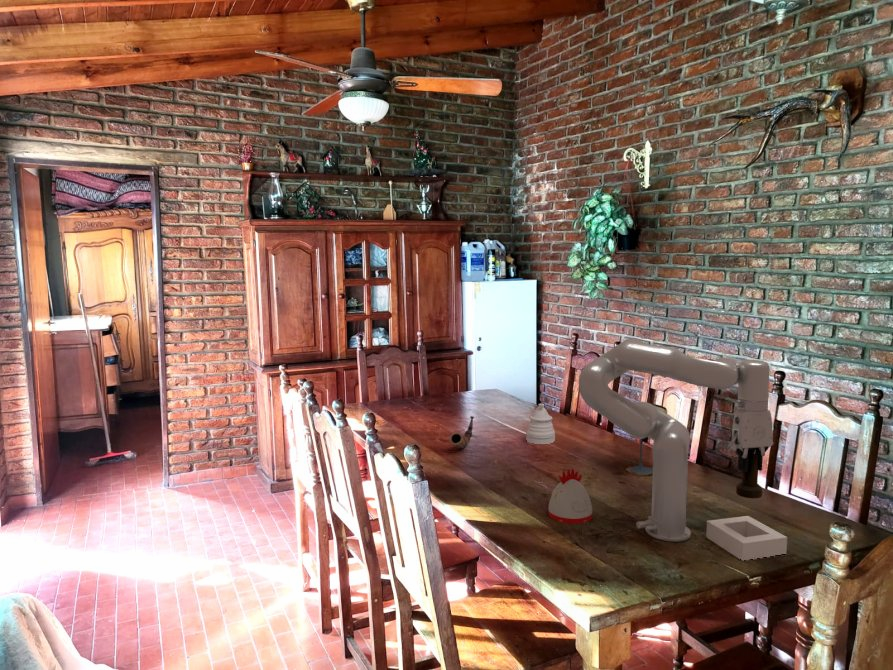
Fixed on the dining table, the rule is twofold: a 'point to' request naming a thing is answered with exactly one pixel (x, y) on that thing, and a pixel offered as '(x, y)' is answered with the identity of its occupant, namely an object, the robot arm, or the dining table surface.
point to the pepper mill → (750, 478)
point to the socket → (746, 537)
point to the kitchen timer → (570, 500)
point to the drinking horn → (462, 441)
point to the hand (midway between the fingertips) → (749, 469)
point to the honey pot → (540, 427)
